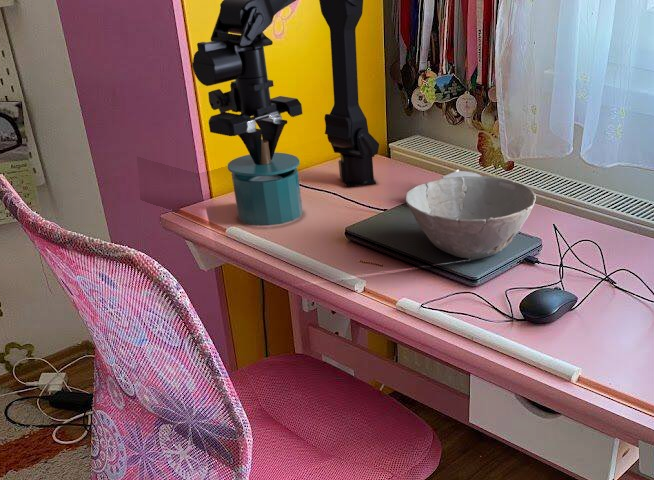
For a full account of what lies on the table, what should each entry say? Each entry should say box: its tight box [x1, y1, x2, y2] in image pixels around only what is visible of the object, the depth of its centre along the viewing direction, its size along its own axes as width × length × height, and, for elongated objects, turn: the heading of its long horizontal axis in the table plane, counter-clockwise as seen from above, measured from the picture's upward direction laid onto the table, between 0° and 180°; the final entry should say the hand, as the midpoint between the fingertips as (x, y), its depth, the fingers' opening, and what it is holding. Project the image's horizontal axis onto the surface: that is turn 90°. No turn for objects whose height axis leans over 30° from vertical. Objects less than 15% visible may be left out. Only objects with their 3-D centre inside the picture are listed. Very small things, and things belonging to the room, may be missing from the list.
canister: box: [231, 167, 304, 227], centre depth 166 cm, size 12×12×9 cm
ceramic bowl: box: [405, 175, 537, 260], centre depth 150 cm, size 22×23×10 cm
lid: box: [226, 139, 301, 176], centre depth 162 cm, size 13×13×5 cm
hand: (263, 162), depth 163 cm, fingers closed on lid, 3 cm apart
